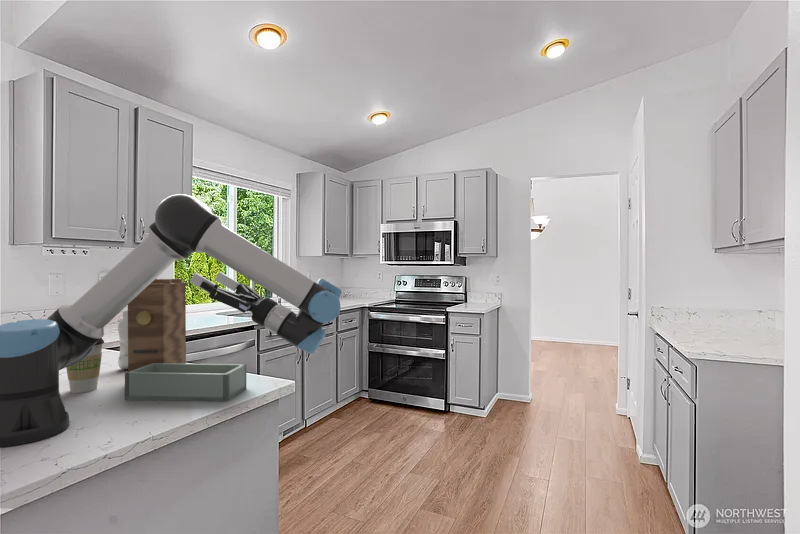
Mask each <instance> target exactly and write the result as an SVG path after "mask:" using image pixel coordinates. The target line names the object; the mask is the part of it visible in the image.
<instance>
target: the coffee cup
mask: <svg viewBox="0 0 800 534" xmlns="http://www.w3.org/2000/svg"><path fill="white" fill-rule="evenodd" d="M104 344H105V341H104V339H103V337H102V338H101V339H100V340H99V341H98V342H97V343H96V344H95V345H94V347H93V349H92V351H91V352H90V353H89V354H88V355H87V356H86V357H85V358H84V359H83V360H81V361H80V362H78V363H76V364H74V365H71V366H68V367H66V373H67V380H68V383H69V392H70V393H73V394H82V393H89V392H93V391H95V390H97V389H98V381H99V376H100V371H101V365H102V364H101V363H102V357H103V356H102V355H103V352H102V350H103V345H104Z"/></svg>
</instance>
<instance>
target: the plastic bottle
mask: <svg viewBox="0 0 800 534" xmlns="http://www.w3.org/2000/svg"><path fill="white" fill-rule="evenodd" d="M121 317H122V319H121V320H120V322H119V323H118V324H117V330H118V336H119V337H118V338H119V356H118V362H117V365H118V367H119V369H121V370H127V369H128V309H127V310H123V311H122V315H121Z"/></svg>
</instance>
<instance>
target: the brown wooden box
mask: <svg viewBox="0 0 800 534" xmlns="http://www.w3.org/2000/svg"><path fill="white" fill-rule="evenodd" d="M188 284H189V282H187V281H186V282H185V281H183V278H156V279H155V280H154V281H153V282H152V283H151V284H149V285H148V286H147V287H146V288H145V289H144V290H143V291H142V292H141V293H140V294H139V295H138V296H137V297H135V298H134V299H133V300H132V301H131V302H130V303H129V304H128V305H127V310H128V371H127V372H129V371H132V370H135V369H138V368H140V367H143V366H146V365H149V364H152V363H186V364H187V353H186V352H187V351H186V350H187V342H186V340H187V339H186V338H187V337H186V336H187V335H186V333H187V331H186V330H187V329H186V325H187V324H186V322H187V321H186V318H187V317H186V316H187V315H186V313H187V312H186V305H187V304H186V287H187V286H188Z"/></svg>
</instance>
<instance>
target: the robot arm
mask: <svg viewBox="0 0 800 534" xmlns="http://www.w3.org/2000/svg"><path fill="white" fill-rule="evenodd" d="M147 229H148V230H147V231H148V235H147V237H145V238H144V239H143V240H142V241H141V242H140V243H139V244H138V245H137V246H135V248H134V249H132V250H131V251H130V252H129V253H128V254H127V255H126V256H124V257H123V258H122V259H121V260H120V261H119V262H118V263H117V264H116V265H114V267H113V268H111V270H109V271H108V272H107V273H106V274H105V275H104V276H103V277H102V278H100V279H99V280H98V281H97V282H96V283H95V284H94V285H93V286H91V288H89V289H88V290H87V291H86V292H85V293H84V294H83V295H82V296H81V297H79V299H77V300H76V301H75V302H74V303H73V304H64V305H61V306H60V307H58V308H57V309H56V310H55V311H54V312H53V313H52V314H50V315H49V316H48V317H47V318H37V319H35V318H34V319H23V320H17V321H15V322H13V321H12V322H7V323H3V324H0V448H3V447H10V446H18V445H23V444H28V443H32V442H36V441H40V440H45V439H46V438H50V437H53V436H56V435H57V434H59V433H62V432H64V431H65V430H67V429H68V428H69V426H70V414H69V413H68V411H67V410H66V408H65V404H64V402H63V399H62V395H61V393H60V371H61V370H63V369H65V368H66V367H68V366H71V365H74V364H76V363H78V362H80V361H81V360H83V359H84V358H85V357H86V356H87V355H88V354H89V353H90V352H91V351H92V349H93V347H94V345H95V344H96V343H97V342H98V341H99V340H100V339H101V338H102V339H103V338H104V335H105V329H104V327H106V326H107V325H108V324H109V323H110V322H111V321H112V320H113V319H114V318H115V317H117V315H118V314H120V313H121V311H122V310H123V311H124V309H125V308H126V307H128V304H129V303H130V302H131V301H132V300H133V299H134V298H135V297H137V296H138V295H139V294H140V293H141V292H142V291H143V290H144V289H145V288H146V287H147V286H148V285H149V284H151V283H152V282H153V281H154V280H155V279H158V277H159V276H160V275H161V274H162V273H163V272H164V271H166V270H167V269H168V268H169V267H170V266H171V265H172V264H173V263H174V262H175V261H177V260H187V259H188V257H190V256H191V255H192V254H193V253H196V254H200V253H205V254H206V255H209V257H212V258H213V259H215V260H217V261H219V262H220V263H222V264H224V265H225V266H227V267H228V268H230V269H232V270H233V271H236V273H239V274H240V275H242V276H244V277H245V278H247V279H249V280H251V282H254V283H256V284H257V285H259V286H260V287H262V288H263V289H266V290H267V291H268V292H270V293H272V294H274V295H275V296H278V298H280V299H282V300H284V301H285V302H287V303H289V304H291V305H292V306H294V307H295V308H298V313H295V312H294V311H292V309H289V308H288V307H286V306H284V305H283V304H278V302H277V301H275V300H274V299H272V298H270V297H268V296H266V297H262V296H261V295H260V294H259V293H258V292H256V291H255V290H254V289H253V288H251V287H250V286H249V285H248V284H247V283H246V284H245V283H244V284H243V283H240V282H239V281H237V280H235V279H233V278H232V277H230V276H229V275H227V274H225V273H223V272H222V271H219V272H218V273H217V275H216V277H215V278H214V280H215V281H216V282H217V283H215V282H213V281H211V280H209V279H207V278H205V277H204V276H202V275H200V273H198V272H194V273H193V275H192V276H191V279H190V280H189V282H190V283H191V284H193V285H194V286H196V287H198V288H199V289H201V290H203V291H204V292H205V293H208V294H209V295H208V298H210V299H213V300H215V301H218V302H219V303H222V304H224V305H226V306H228V307H231V308H233V309H236V310H237V311H240V312H241V313H244V314H245V313H246V312H251V313H252V314H251V320H252V322H254V323H255V324H258V325H259V326H261V327H264V328H265V329H266V330H267V331H270V332H271V335H272V336H273V335H274V336H278V337H279V338H280V339H283V340H284V341H286V342H287V343H289V344H291V345H293V346H294V347H295V348H296V349H299V350H302V351H303V352H305V353H306V354H311V355H312V354H314V353H316V351H317V350H318V349H319V347H320V346H321V345H322V343H323V341H324V339H325V337H326V334H327V333H326V330H325V329H324V328H322V327H323V326H324V324H327V323H330V322H333V321H334V320H335V319H336V318H337V317H338V316H339V315H340V311H341V301H340V297H341V295H342V289H340V288H339V287H337V286H336V285H334V284H333V283H330V282H329V281H327V280H326V279H323V278H319V279H318V280H317V281H316V282H315V281H314V280H312V279H310V278H309V277H307V276H306V275H304V274H303V273H301V272H299V271H298V270H296V269H295V268H293V267H291V266H290V265H288V264H287V263H285V262H283V261H282V260H280V259H278V258H277V257H275V256H274V255H272V254H270V253H268V252H267V251H265V250H263V249H262V248H261V247H259V246H257V245H256V244H254V243H253V242H251V241H250V240H248V239H246V238H244V237H243V236H242V235H240V234H238V233H237V232H235V231H233V230H232V229H230V228H228V227H227V226H226V225H224V224H223V220H222V218H221V217H219V216H217V215H216V214H215V213H214V211H213V210H212V209H211V208H210V207H209V205H207V204H206V203H205V202H202V201H200V200H199V199H198V198H196V197H194V196H192V195H188V194H185V193H184V194H183V193H181V194H180V193H177V194H172V195H170V196H168V197H166V198H164V199H163V200H162V201H161V202H159V204H158V205H157V208H156V209H155V213H154V221H153V222H152V223H151V224H150V225H149V226H148V228H147ZM218 283H219V284H221V285H223V286H224V287H226V288H227V289H224V288H221V287H219V284H218ZM228 289H229V290H228ZM230 290H231V291H230ZM123 311H122V312H123Z"/></svg>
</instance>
